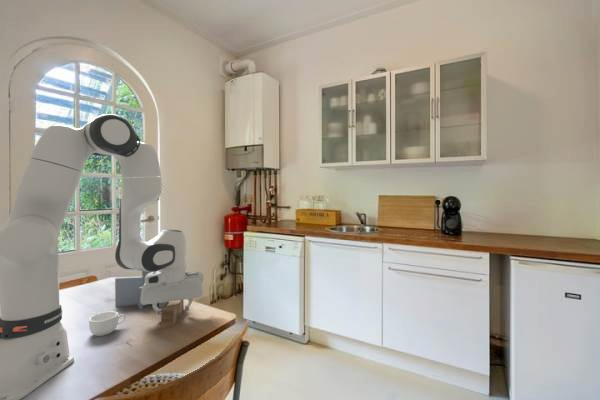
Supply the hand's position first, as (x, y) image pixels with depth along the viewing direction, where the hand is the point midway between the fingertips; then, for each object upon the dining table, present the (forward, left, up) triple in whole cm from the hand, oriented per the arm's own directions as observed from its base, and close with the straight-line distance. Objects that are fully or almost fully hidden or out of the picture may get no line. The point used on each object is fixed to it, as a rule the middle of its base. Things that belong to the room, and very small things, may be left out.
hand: (173, 312), depth 101 cm
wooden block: (0, 0, -2) cm, 2 cm away
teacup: (-7, +18, -2) cm, 19 cm away
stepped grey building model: (+14, +16, -2) cm, 22 cm away
